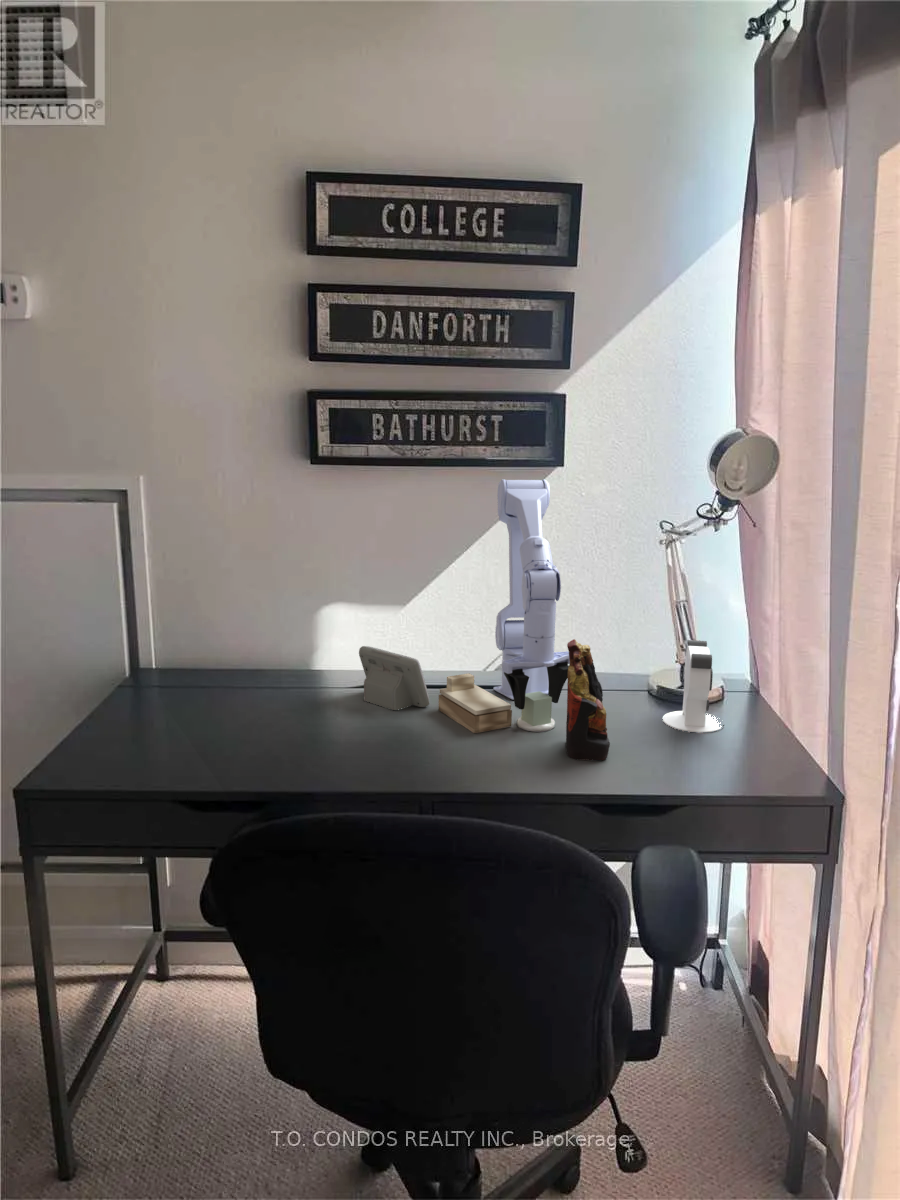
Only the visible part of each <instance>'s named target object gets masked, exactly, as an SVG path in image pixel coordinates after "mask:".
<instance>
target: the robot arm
mask: <svg viewBox="0 0 900 1200" xmlns="http://www.w3.org/2000/svg"><path fill="white" fill-rule="evenodd" d="M550 489H551V488H550V483H549V482H548V481H547V480H546V479H505V478H504V479H503V478H502V479H501V480H500V481H499V482H498V485H497V516H498V520H499V521H500V522H502V523H504V524H506V527H507V532H508V560H509V561H508V564H509V565H508V568H509V570H508V571H509V573H508V574H509V575H508V577H509V581H508V583H509V603H508V604H507V605H506V606H504V608H502V609H501V610H500V611H499V612H498V613H497V615H496V624H495V645H496V648H497V649H498V651H502V664H501V685H499V686H498V685H497V686H493V690H494V691H496V692H497V693H499V694H501V695H503V696H505V697H506V698H508V699H511V700H512V701H514V707H515V708H517V709H518V710H522V709H524V706H525V694H526V693H532V692H538V691H540V692H542V693H544V694H546V695H548V696H550V697H552V703H553V704H558V703H559V700H560V696H561V694H562V691H563V688H564V686H565V684H566V682H567V681H568V678H567V675H568V667H569V665H570V664H569V663H570V661H569V651H567V650H566V651H557V652H556V651H555V640H556V639H555V638H556V637H555V636H556V619H557V618H556V617H557V616H556V612H557V602H558V601H560V597H561V592H562V591H561V590H562V583H561V582H562V580H561V574H560V570H559V569H558V568H557V565H554V561H553V555H552V550H551V544H550V542H549V540H548V539H546V538H544V537H543V522H542V521H543V519H544V517H545V515H546V513H547V509H548V508H549V505H550V499H551V497H550V496H551V490H550ZM511 618H514V619H515V618H519V620H518V619H515V620H514V619H513V620H512V619H511ZM520 618H523V619H520ZM509 619H511V620H509Z"/></svg>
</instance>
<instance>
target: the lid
mask: <svg viewBox="0 0 900 1200" xmlns="http://www.w3.org/2000/svg"><path fill="white" fill-rule="evenodd" d="M440 694H442V695H444V696H445V697H447V698H448V699H450V700H452V701H453V702H455V703H457V704H458V705H460V706H462V707H463V708H465V709H466V710H468V711H470V712H471V713H473V714H475V715H479V714H485V713H491V712H496V711H502V710H507V709H511V710H512V704H510V703H509V702H508V701H505V700H503V699H502V698H500V697H498V696H496V695H495V694H493V693H491V692H489V691H488V690H485V689H484V688H482V687H480V686H478V685H476V684H475V675H474V674H471V673H462V674H456V675H449V676H448V675H447V676H446V687H445V688H440V689H439V695H440Z"/></svg>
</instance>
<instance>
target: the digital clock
mask: <svg viewBox="0 0 900 1200" xmlns="http://www.w3.org/2000/svg"><path fill="white" fill-rule="evenodd" d="M358 654H359V659H360V662H361V665H362V669H363V671H364V676H365V679H364V681H363V701H364V702H366V701H367V702H366V703H369V702H370V704H372V703H373V704H372V705H375V704H376V705H375V706H378V705H379V706H378V707H381V706H382V707H381V708H384V707H385V708H384V709H387V708H389V709H388V710H390V709H392V710H391V711H393V710H398V709H401V708H403V709H405V708H404V707H406V708H408V707H407V706H409V707H411V706H410V705H412V706H414V707H418V708H426V707H429V705H430V696H429V692H428V689H427V684H426V680H425V677H424V674H423V670H422V667H421V664H420V662H419V660H418V659H417V658H414V657H410V656H407V655H403V654H400V653H395V652H392V651H388V650H383V649H381V648H378V647H373V646H368V645H366V646H365V645H362V646H360V647H359V649H358ZM401 710H402V709H401ZM398 711H399V710H398Z"/></svg>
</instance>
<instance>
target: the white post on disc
mask: <svg viewBox="0 0 900 1200" xmlns="http://www.w3.org/2000/svg"><path fill="white" fill-rule="evenodd" d="M685 651H686V652H685V659H684V673H683V674H684V676H683V677H684V678H683V679H684V680H683V684H684V685H683V698H682V699H683V700H682V709H681V710H675V711H670V712H667V713H665V714H664V715H663V716H662V719H663V720H662V723H663V722H664V723H665V724H666V725H665V724H664V723H663V724H664V725H665V726H667V725H668V726H667V727H669V726H670V727H669V728H671V727H672V728H671V729H673V728H674V730H676V729H678V730H677V731H679V730H682V731H681V732H684V731H688V732H687V733H690V732H698V733H697V734H704V733H703V732H712V731H716V730H719V729H721V727H722V726H721V725H720V727H719V724H721V722H720V723H719V722H718V720H717V719H718V718H719V717H718V718H717V719H716V717H717V716H716V717H715V715H713V716H714V717H713V716H712V717H711V715H712V714H709V713H707V711H709V709H710V699H709V694H710V692H711V691H712V688H713V677H714V675H713V671H714V670H713V654H711V651H710V648H709V647H708V642H707V640H696V639H695V640H694V639H688V640H687V645H686V650H685ZM706 714H707V715H706ZM708 714H709V715H708ZM713 718H714V719H713ZM716 720H717V721H716ZM717 722H718V723H717ZM699 732H700V733H699ZM701 732H702V733H701Z"/></svg>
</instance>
